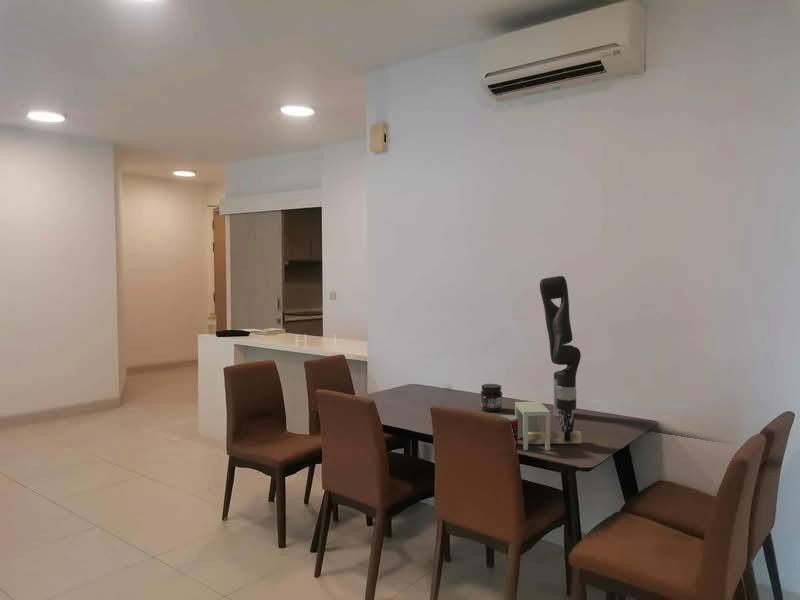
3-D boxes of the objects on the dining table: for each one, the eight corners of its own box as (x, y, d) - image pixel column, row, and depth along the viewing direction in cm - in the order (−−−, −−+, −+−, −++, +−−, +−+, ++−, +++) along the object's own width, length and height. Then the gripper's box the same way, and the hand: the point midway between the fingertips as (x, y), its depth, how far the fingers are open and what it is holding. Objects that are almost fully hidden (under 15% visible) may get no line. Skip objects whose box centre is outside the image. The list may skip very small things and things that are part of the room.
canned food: (495, 441, 233) (495, 415, 232) (514, 440, 234) (514, 414, 233) (500, 447, 225) (500, 420, 225) (520, 446, 226) (520, 419, 225)
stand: (515, 437, 238) (515, 401, 237) (539, 437, 238) (539, 401, 237) (523, 450, 222) (524, 412, 221) (549, 450, 222) (550, 411, 221)
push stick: (525, 444, 229) (525, 434, 228) (524, 441, 232) (524, 431, 231) (581, 443, 229) (581, 433, 228) (579, 440, 232) (579, 431, 231)
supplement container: (482, 406, 290) (482, 382, 289) (503, 408, 287) (503, 384, 286) (478, 411, 280) (478, 387, 279) (500, 413, 277) (500, 388, 276)
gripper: (552, 393, 236) (552, 434, 237) (561, 401, 222) (561, 445, 223) (570, 392, 236) (570, 434, 237) (581, 401, 222) (581, 445, 223)
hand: (566, 439), depth 230 cm, fingers closed on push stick, 3 cm apart
